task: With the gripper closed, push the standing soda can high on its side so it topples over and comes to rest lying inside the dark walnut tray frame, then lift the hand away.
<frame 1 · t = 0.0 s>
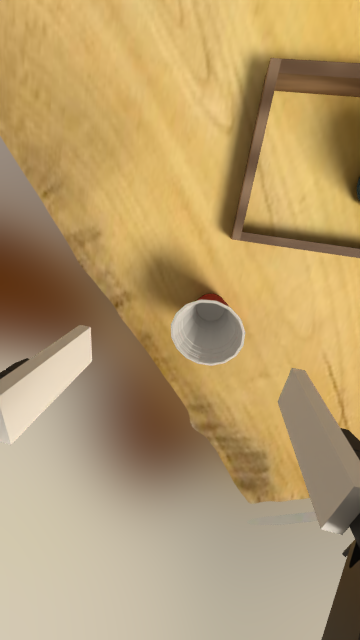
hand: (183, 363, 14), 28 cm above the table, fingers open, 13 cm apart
plastic cup: (209, 308, 42), on the table
walnut tray frame: (331, 177, 31), on the table
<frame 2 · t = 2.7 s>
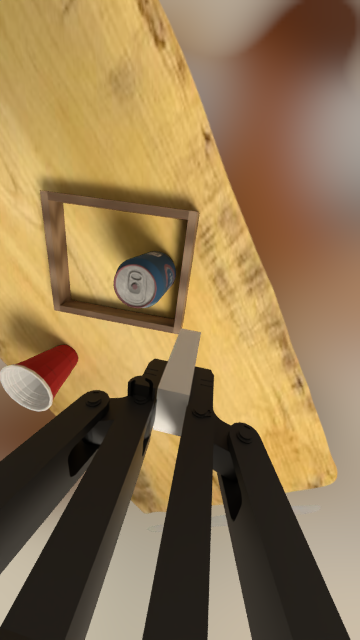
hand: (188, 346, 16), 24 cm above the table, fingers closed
soda can: (158, 270, 39), resting in walnut tray frame
plastic cup: (66, 355, 50), on the table
walnut tray frame: (123, 265, 39), on the table
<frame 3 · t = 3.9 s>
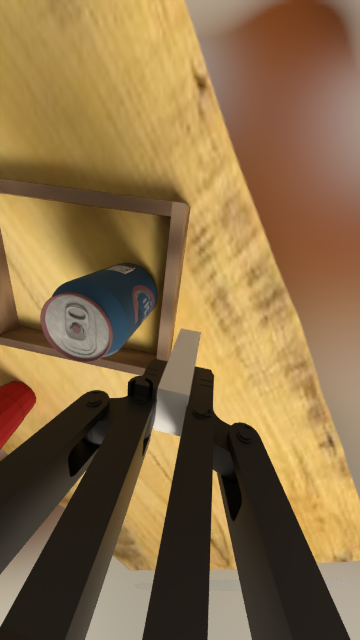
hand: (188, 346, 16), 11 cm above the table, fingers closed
soda can: (133, 289, 27), resting in walnut tray frame
plastic cup: (22, 393, 38), on the table
walnut tray frame: (85, 281, 28), on the table
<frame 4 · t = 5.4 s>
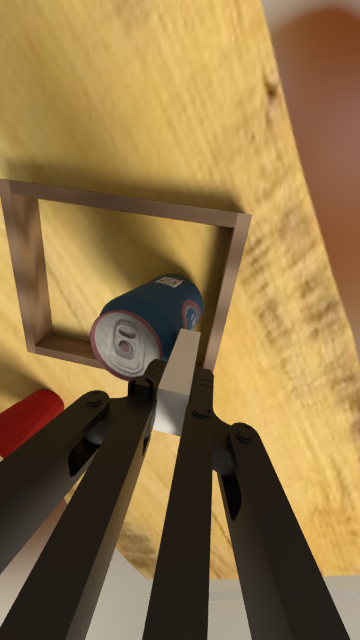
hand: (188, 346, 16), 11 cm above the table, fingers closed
soda can: (177, 300, 26), resting in walnut tray frame, touching gripper
plastic cup: (49, 401, 38), on the table
walnut tray frame: (127, 290, 27), on the table
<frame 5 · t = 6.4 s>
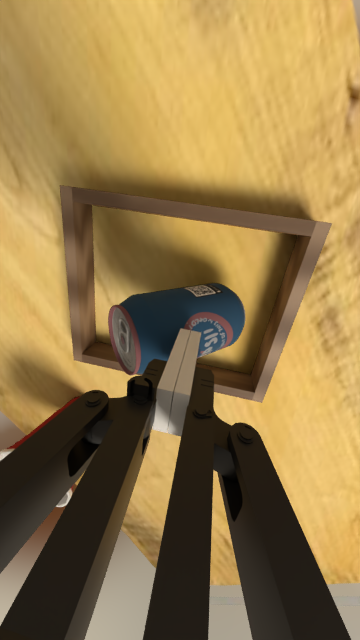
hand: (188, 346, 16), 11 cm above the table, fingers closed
soda can: (226, 313, 24), point 2 cm above the table, touching gripper
plastic cup: (85, 408, 37), on the table
walnut tray frame: (178, 297, 26), on the table
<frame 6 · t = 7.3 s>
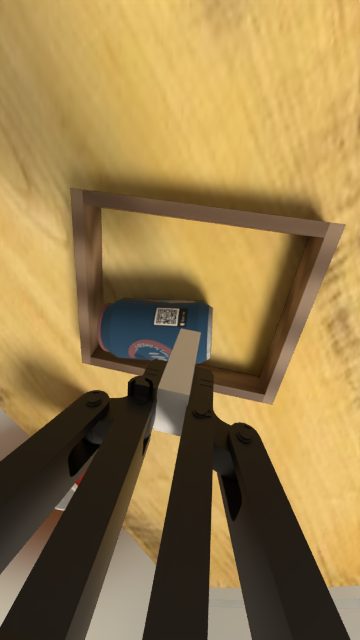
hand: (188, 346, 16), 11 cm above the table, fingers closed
soda can: (213, 333, 24), point 3 cm above the table
walnut tray frame: (187, 299, 26), on the table
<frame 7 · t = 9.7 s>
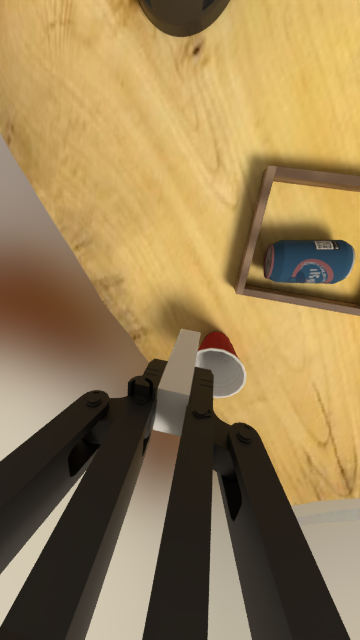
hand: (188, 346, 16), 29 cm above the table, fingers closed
soda can: (345, 262, 35), point 3 cm above the table
plastic cup: (215, 342, 49), on the table
walnut tray frame: (318, 246, 38), on the table
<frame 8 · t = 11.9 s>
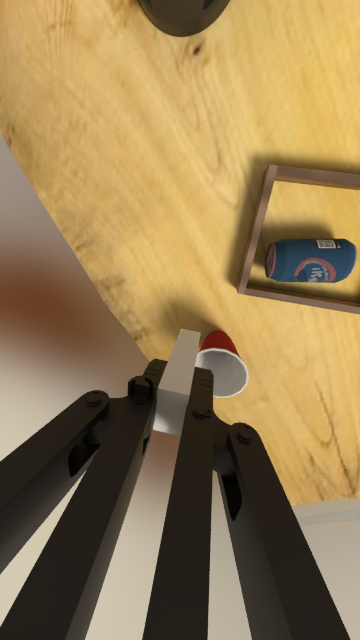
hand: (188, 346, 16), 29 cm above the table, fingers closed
soda can: (347, 261, 35), point 3 cm above the table
plastic cup: (217, 342, 49), on the table
walnut tray frame: (319, 245, 38), on the table
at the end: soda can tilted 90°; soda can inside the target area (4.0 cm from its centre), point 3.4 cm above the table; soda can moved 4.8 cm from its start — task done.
